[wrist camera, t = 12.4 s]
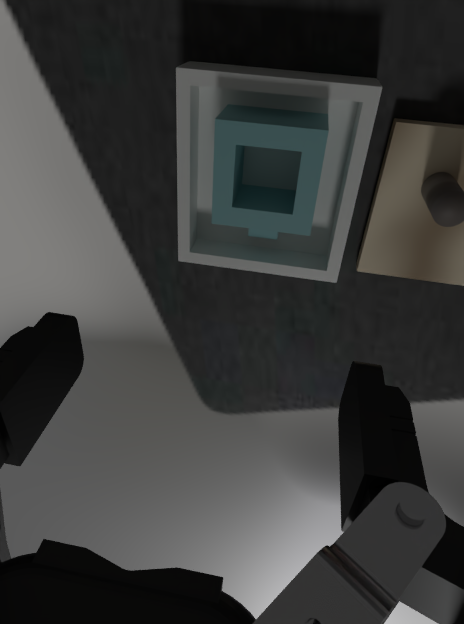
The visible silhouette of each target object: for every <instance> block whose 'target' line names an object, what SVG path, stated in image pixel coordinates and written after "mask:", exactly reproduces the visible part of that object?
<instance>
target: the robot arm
mask: <svg viewBox="0 0 464 624" xmlns="http://www.w3.org/2000/svg"><path fill="white" fill-rule="evenodd" d="M83 361H84V356H83V349H82V344H81V339H80V333H79V327H78V322H77V319H76V318H75V317H74V316H70V315H64V314H58V313H51V312H48V313H46V314H45V315H44V316H43V317H42V318H41V319H40V321H39V322H38V323H37V324H36V325H35V326H34V327H29V326H28V327H26V328H24V329H23V330H21V331H19V332H18V333H16V334H14V335H12V336H11V337H10V338H9V339H8V340H7V341H6V342H5V343H4V345H3V346H2V347H1V348H0V468H1V467H2V465H3V464H4V463H6V464H11V465H16V466H21V464H22V463H23V461H24V460H25V458H26V457H27V455H28V454H29V452H30V451H31V449H32V447H33V446H34V444H35V443H36V441H37V440H38V438H39V437H40V435H41V434H42V432H43V431H44V429H45V428H46V426H47V424H48V423H49V421H50V420H51V418H52V417H53V415H54V414H55V412H56V411H57V409H58V407H59V406H60V404H61V403H62V401H63V400H64V398H65V397H66V395H67V394H68V392H69V391H70V389H71V387H72V386H73V384H74V383H75V381H76V380H77V378H78V376H79V375H80V373H81V370H82V367H83ZM338 424H339V425H338V426H339V458H340V459H339V461H340V495H341V528H342V531H344V533H343V534H342V535H341V536H340V537H339V538H338V540H337V541H336V542H335V543H334V544H333V545H331V546H330V547H329V546H325V547H323V548H322V549H321V550H320V551H319V552H318V553H317V554H316V555H315V556H314V557H313V558H312V559H311V560H310V561H309V563H308V564H307V565H306V566H305V567H304V568H303V569H302V570H301V571H300V572H299V573H298V575H297V576H296V577H295V578H294V579H293V580H292V581H291V582H290V583H289V584H288V585H287V587H286V588H285V589H284V590H283V591H282V592H281V593H280V594H279V595H278V596H277V598H276V599H275V600H274V601H273V602H272V603H271V604H270V605H269V606H268V607H267V608H266V610H265V611H264V612H263V613H262V614H261V615H260V616H259V617H258V618H257V619H255V618H254V617H253V615H252V614H251V613H250V612H249V611H248V610H247V609H246V608H245V607H244V606H243V605H242V604H241V603H239V602H238V601H237V600H235V599H234V598H233V597H231V596H230V595H228V594H226V593H224V592H223V591H222V583H223V577H219V576H214V575H209V574H205V573H200V572H195V571H190V570H186V569H181V568H166V569H150V570H135V571H128V570H125V569H122V568H121V567H119V566H117V565H115V564H113V563H112V562H110V561H108V560H106V559H105V558H103V557H101V556H99V555H98V554H96V553H94V552H92V551H90V550H88V549H87V548H83V547H79V546H74V545H69V544H64V543H60V542H55V541H51V540H46V539H43V541H42V543H41V545H40V547H39V549H38V551H37V553H32V554H26V555H22V556H18V557H15V558H12V559H11V556H10V553H9V549H8V545H7V541H6V535H5V527H4V517H3V509H2V500H1V492H0V624H384V622H385V621H386V620H387V618H388V617H389V615H390V614H391V612H392V611H393V609H394V608H395V607H396V605H397V604H398V602H399V601H400V602H402V603H404V604H406V605H407V606H409V607H411V608H413V609H414V610H416V611H418V612H419V613H421V614H423V615H425V616H426V617H428V618H430V619H432V620H433V621H435V622H437V623H439V624H464V527H463V526H461V525H459V524H458V523H456V522H454V521H453V520H451V519H450V518H449V517H447V516H446V515H445V514H444V512H443V510H442V508H441V507H440V505H439V504H438V502H437V501H436V500H435V499H434V498H433V497H432V496H431V495H430V494H429V492H428V489H427V485H426V480H425V475H424V470H423V465H422V461H421V456H420V451H419V446H418V441H417V437H416V436H415V435H416V431H415V427H414V423H413V417H412V412H411V407H410V403H409V401H408V400H407V398H406V397H405V396H404V394H403V393H402V391H401V390H400V388H399V387H393V386H387V385H385V382H384V376H383V370H382V366H381V365H376V364H369V363H363V362H357V361H353V362H352V364H351V367H350V371H349V374H348V378H347V381H346V384H345V388H344V391H343V394H342V398H341V402H340V407H339V417H338Z"/></svg>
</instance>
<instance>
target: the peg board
mask: <svg viewBox="0 0 464 624" xmlns="http://www.w3.org/2000/svg"><path fill="white" fill-rule="evenodd" d="M356 267H357V271H359V272H367V273H374V274H382V275H389V276H396V277H404V278H411V279H418V280H426V281H433V282H440V283H448V284H455V285H462V286H464V125H456V124H446V123H437V122H427V121H417V120H407V119H397V118H394V120H393V124H392V128H391V132H390V136H389V140H388V143H387V147H386V151H385V155H384V159H383V163H382V167H381V170H380V174H379V178H378V182H377V186H376V190H375V194H374V198H373V201H372V205H371V209H370V213H369V217H368V221H367V225H366V228H365V232H364V236H363V240H362V244H361V248H360V252H359V255H358V259H357V263H356Z"/></svg>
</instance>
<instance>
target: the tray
mask: <svg viewBox="0 0 464 624" xmlns="http://www.w3.org/2000/svg"><path fill="white" fill-rule="evenodd" d="M381 91H382V86H381V84H380V82H379V81H378V79H377V78H368V77H357V76H346V75H336V74H325V73H314V72H303V71H292V70H282V69H271V68H260V67H249V66H239V65H228V64H217V63H206V62H195V61H188V62H186V63H184V64H182V65H180V66H178V67H176V105H177V190H178V261H183V262H190V263H197V264H204V265H212V266H219V267H226V268H233V269H240V270H248V271H255V272H262V273H269V274H276V275H283V276H291V277H298V278H305V279H312V280H319V281H327V282H334V283H336V282H337V278H338V274H339V269H340V265H341V261H342V257H343V252H344V248H345V244H346V240H347V235H348V231H349V227H350V223H351V218H352V214H353V210H354V206H355V201H356V197H357V193H358V189H359V184H360V180H361V176H362V172H363V167H364V163H365V159H366V155H367V150H368V146H369V142H370V138H371V133H372V129H373V125H374V121H375V116H376V112H377V108H378V104H379V99H380V95H381ZM228 104H231V105H242V106H252V107H262V108H272V109H282V110H292V111H303V112H313V113H323V114H328V124H329V132H328V137H327V143H326V149H325V154H324V160H323V166H322V171H321V177H320V183H319V188H318V194H317V200H316V205H315V211H314V216H313V222H312V228H311V233H310V236H306V235H298V234H291V233H283V232H278V237H277V240H275V239H267V238H260V237H252V236H248V231H249V228H243V227H235V226H227V225H219V224H212V193H213V163H214V132H215V118H216V117H217V116H218V115H219V114H220V113H221V112H222V110H223V109H224V108H225V107H226V106H227V105H228ZM301 155H302V152H299V151H290V150H281V149H272V148H262V147H253V146H245V150H244V164H243V178H242V184H245V185H253V186H262V187H271V188H279V189H288V190H296V188H297V182H298V175H299V168H300V161H301Z"/></svg>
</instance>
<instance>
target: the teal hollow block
mask: <svg viewBox="0 0 464 624" xmlns="http://www.w3.org/2000/svg"><path fill="white" fill-rule="evenodd" d="M328 132H329V124H328V114H323V113H313V112H303V111H292V110H282V109H272V108H262V107H252V106H242V105H231V104H228V105H227V106H226V107H225V108H224V109H223V110H222V112H221V113H220V114H219V115H218V116H217V117H216V118H215V132H214V163H213V193H212V224H219V225H227V226H235V227H243V228H249V231H248V236H252V237H260V238H267V239H275V240H277V237H278V232H283V233H291V234H298V235H306V236H310V233H311V228H312V222H313V216H314V211H315V205H316V200H317V194H318V188H319V183H320V177H321V171H322V166H323V160H324V154H325V149H326V143H327V137H328ZM245 146H253V147H262V148H272V149H281V150H290V151H299V152H302V155H301V161H300V168H299V175H298V182H297V188H296V190H288V189H279V188H271V187H262V186H253V185H245V184H242V178H243V164H244V150H245Z"/></svg>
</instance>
